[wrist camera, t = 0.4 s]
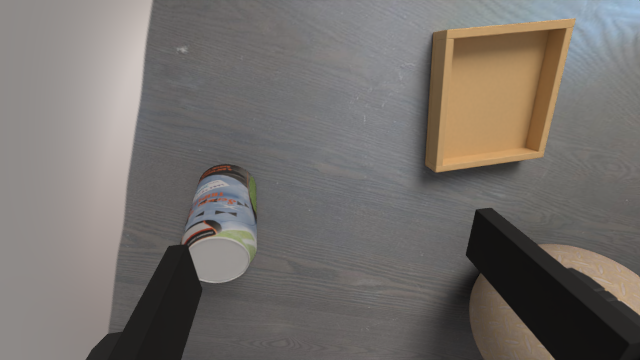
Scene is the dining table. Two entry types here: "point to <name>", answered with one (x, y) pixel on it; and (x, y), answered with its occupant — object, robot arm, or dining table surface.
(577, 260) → the decorative sphere
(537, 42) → the wooden serving tray
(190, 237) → the beverage can
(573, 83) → the dining table surface
